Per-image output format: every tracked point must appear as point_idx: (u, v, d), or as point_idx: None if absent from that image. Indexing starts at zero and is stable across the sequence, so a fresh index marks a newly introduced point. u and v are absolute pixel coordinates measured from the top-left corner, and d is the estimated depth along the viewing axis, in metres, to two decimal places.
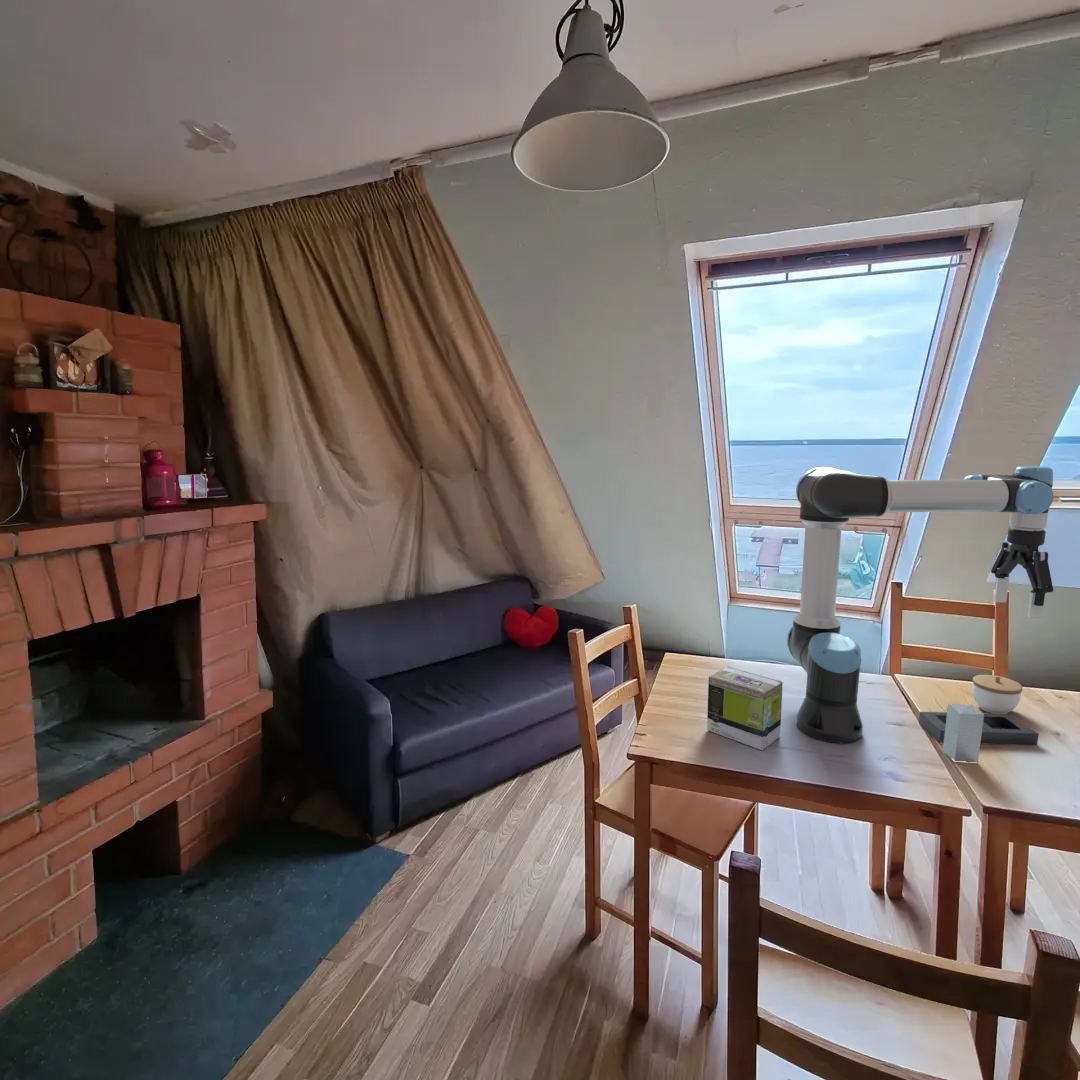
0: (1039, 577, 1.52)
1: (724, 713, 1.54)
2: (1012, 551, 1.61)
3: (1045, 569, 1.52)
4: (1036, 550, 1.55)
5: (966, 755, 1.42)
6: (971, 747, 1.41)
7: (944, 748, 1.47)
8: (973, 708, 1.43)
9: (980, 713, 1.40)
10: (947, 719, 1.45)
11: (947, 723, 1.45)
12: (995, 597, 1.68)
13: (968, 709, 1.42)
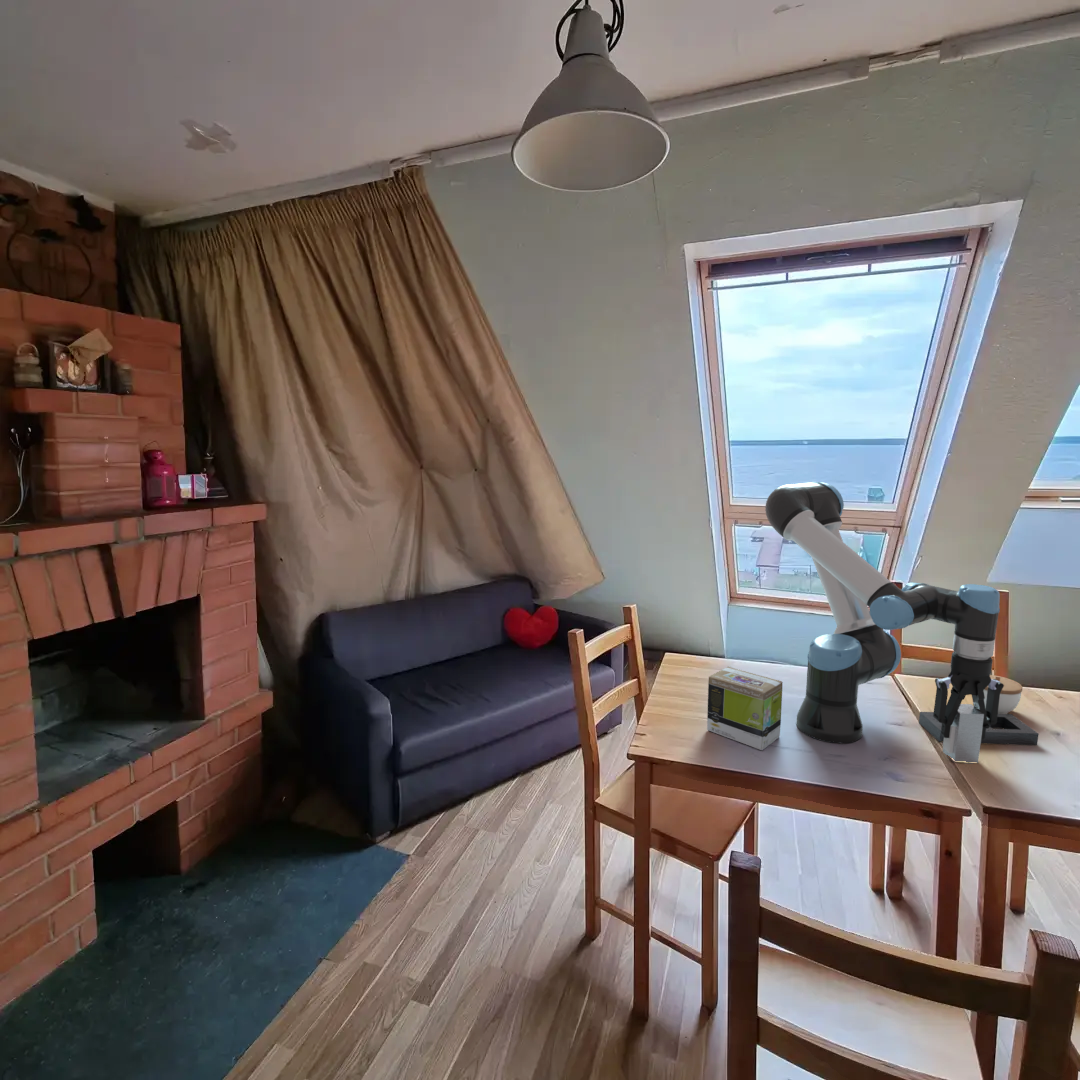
0: None
1: (724, 713, 1.54)
2: None
3: (939, 698, 1.42)
4: None
5: (966, 755, 1.42)
6: (971, 747, 1.41)
7: None
8: (973, 708, 1.43)
9: (980, 713, 1.40)
10: None
11: None
12: None
13: (968, 709, 1.42)
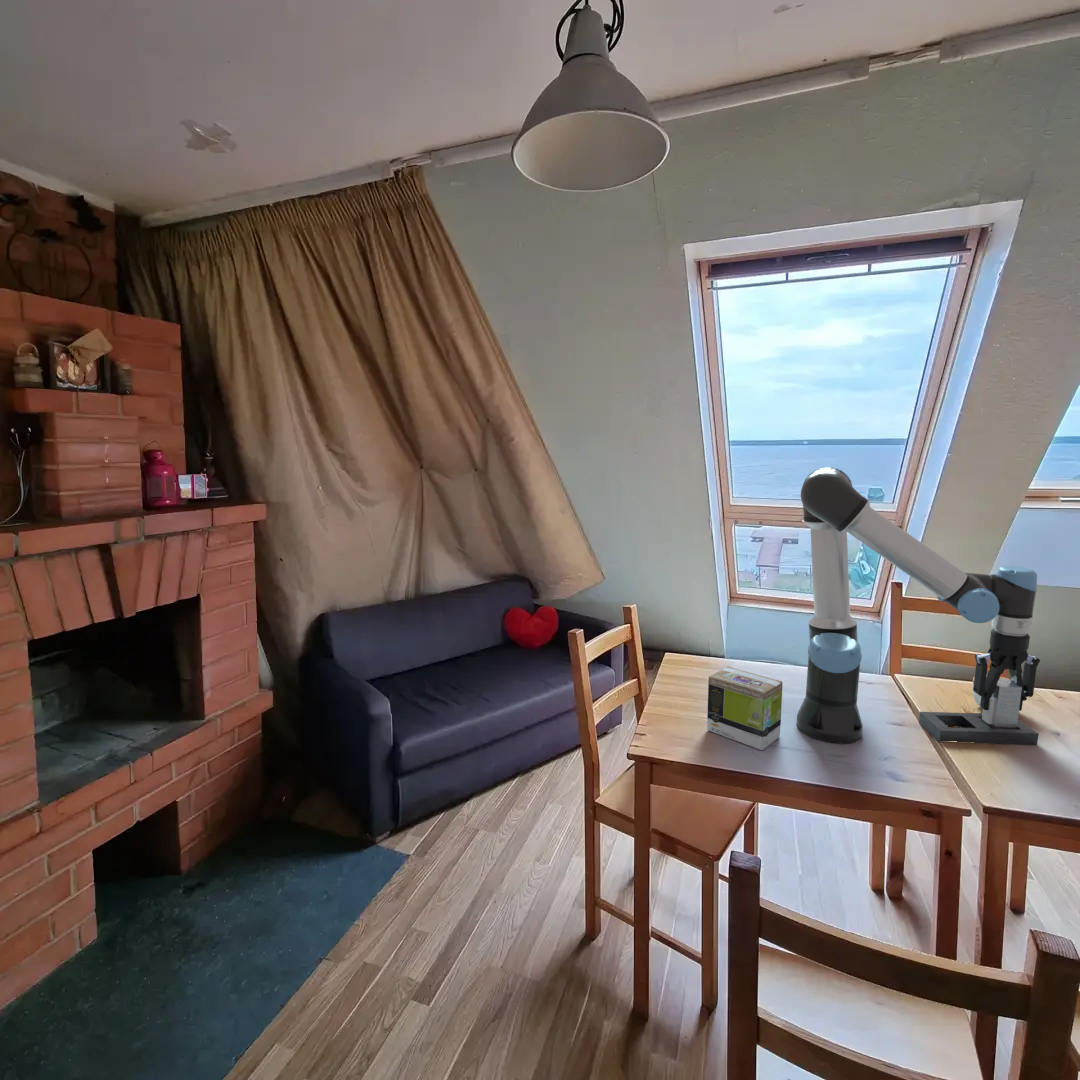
0: None
1: (724, 713, 1.54)
2: None
3: (979, 673, 1.52)
4: None
5: (1004, 726, 1.52)
6: (1009, 718, 1.51)
7: (983, 720, 1.56)
8: (1011, 682, 1.52)
9: (1018, 686, 1.50)
10: None
11: None
12: None
13: (1006, 683, 1.52)
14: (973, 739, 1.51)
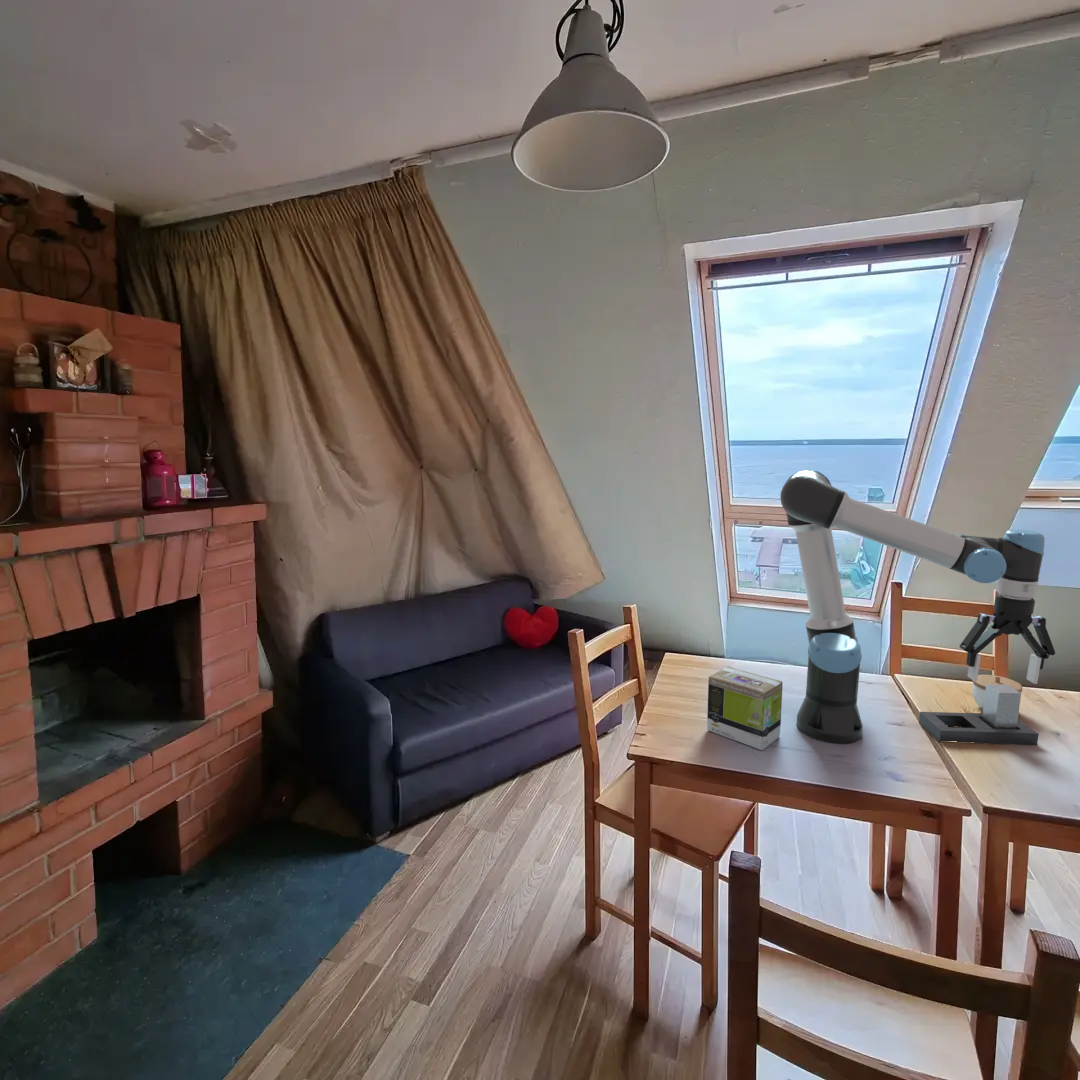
0: None
1: (724, 713, 1.54)
2: None
3: (975, 630, 1.50)
4: None
5: None
6: (1008, 724, 1.52)
7: None
8: (1010, 688, 1.53)
9: (1017, 692, 1.50)
10: (986, 699, 1.55)
11: (985, 702, 1.55)
12: None
13: (1006, 689, 1.52)
14: (973, 739, 1.51)
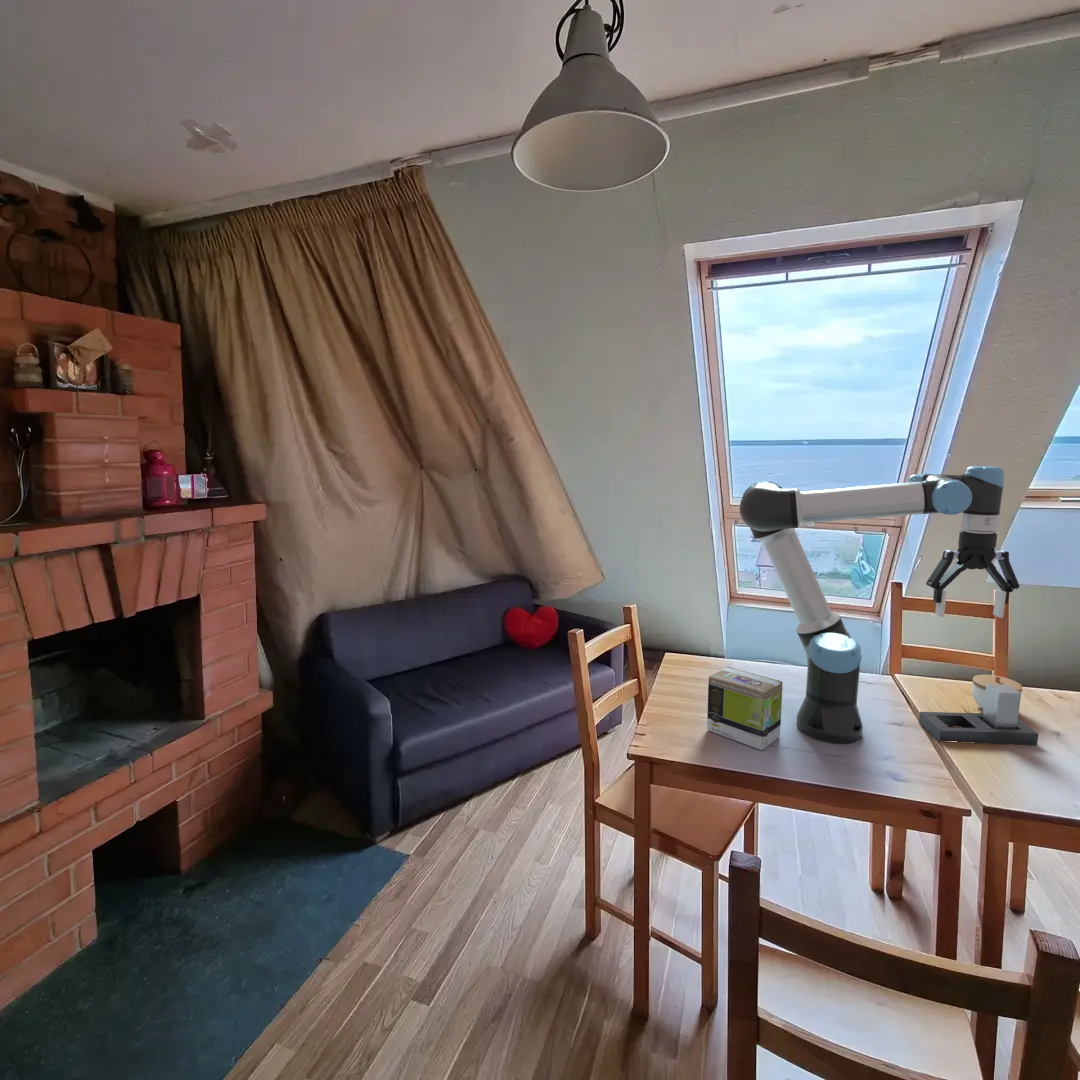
0: None
1: (724, 713, 1.54)
2: None
3: (940, 566, 1.53)
4: None
5: None
6: (1008, 724, 1.52)
7: None
8: (1010, 688, 1.53)
9: (1017, 692, 1.50)
10: (986, 699, 1.55)
11: (985, 702, 1.55)
12: None
13: (1006, 689, 1.52)
14: (973, 739, 1.51)
